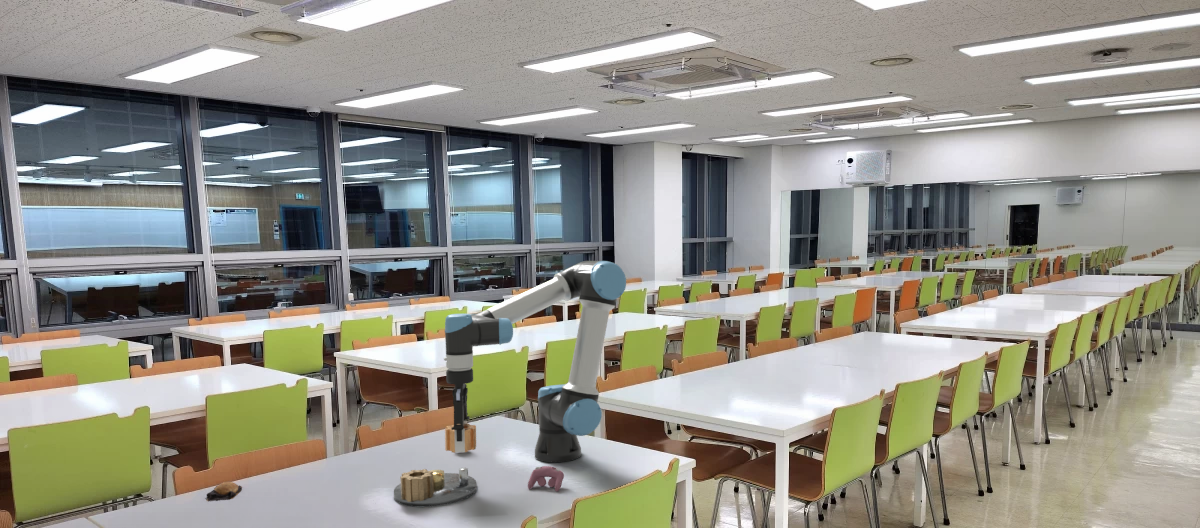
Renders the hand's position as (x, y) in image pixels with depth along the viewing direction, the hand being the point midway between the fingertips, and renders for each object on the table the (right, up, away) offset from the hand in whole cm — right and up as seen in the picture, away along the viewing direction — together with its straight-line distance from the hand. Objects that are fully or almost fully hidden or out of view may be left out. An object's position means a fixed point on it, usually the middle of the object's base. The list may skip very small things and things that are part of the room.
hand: (461, 447), depth 207 cm
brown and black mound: (-69, -15, +3) cm, 71 cm away
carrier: (-7, -13, 0) cm, 15 cm away
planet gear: (0, 0, 0) cm, 0 cm away
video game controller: (+24, -12, +1) cm, 27 cm away
